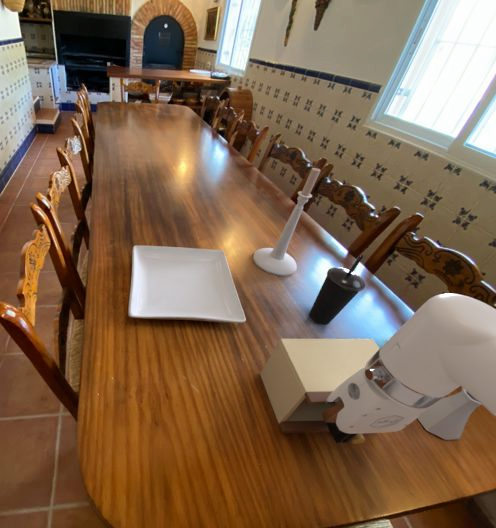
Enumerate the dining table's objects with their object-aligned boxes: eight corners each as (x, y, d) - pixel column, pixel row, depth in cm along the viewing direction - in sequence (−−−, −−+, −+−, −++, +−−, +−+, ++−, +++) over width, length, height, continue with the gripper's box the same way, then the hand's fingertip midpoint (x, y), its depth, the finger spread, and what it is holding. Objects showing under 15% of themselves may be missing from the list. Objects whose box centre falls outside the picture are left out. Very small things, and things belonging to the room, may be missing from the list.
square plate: (132, 254, 90) (132, 243, 87) (221, 259, 91) (224, 249, 88) (127, 325, 69) (127, 314, 66) (243, 331, 70) (248, 320, 67)
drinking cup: (311, 329, 72) (354, 267, 59) (298, 306, 77) (334, 244, 65) (341, 330, 72) (390, 268, 59) (326, 306, 78) (367, 245, 65)
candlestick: (289, 252, 96) (333, 160, 77) (301, 278, 86) (355, 181, 67) (249, 247, 97) (283, 155, 77) (257, 273, 87) (298, 175, 68)
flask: (422, 434, 54) (463, 410, 48) (405, 397, 60) (440, 370, 53) (466, 446, 53) (515, 422, 47) (445, 407, 59) (486, 381, 52)
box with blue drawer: (376, 431, 54) (419, 400, 46) (282, 433, 53) (311, 402, 45) (341, 372, 63) (372, 338, 55) (259, 373, 62) (280, 338, 54)
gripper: (368, 406, 35) (304, 460, 46) (483, 403, 36) (392, 456, 48) (333, 351, 40) (284, 411, 52) (433, 350, 42) (363, 409, 53)
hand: (335, 432), depth 50 cm, fingers closed
